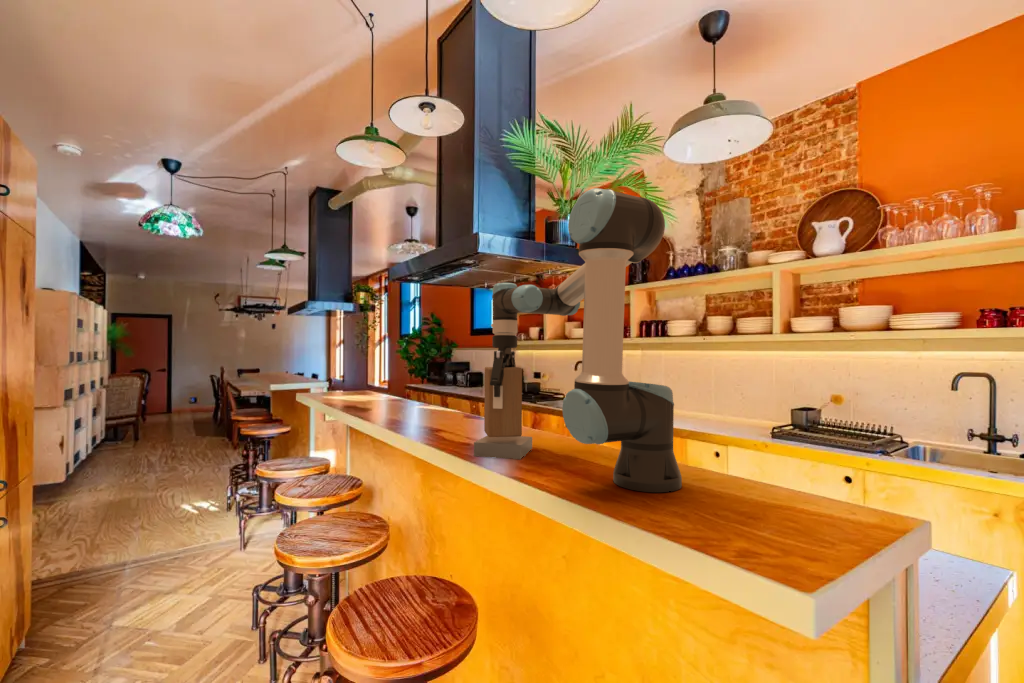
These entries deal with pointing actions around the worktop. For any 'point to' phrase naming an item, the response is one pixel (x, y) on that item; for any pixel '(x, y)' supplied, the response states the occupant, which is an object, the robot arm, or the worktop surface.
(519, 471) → the worktop surface
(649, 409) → the robot arm
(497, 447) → the grey flat square block
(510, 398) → the wooden block
